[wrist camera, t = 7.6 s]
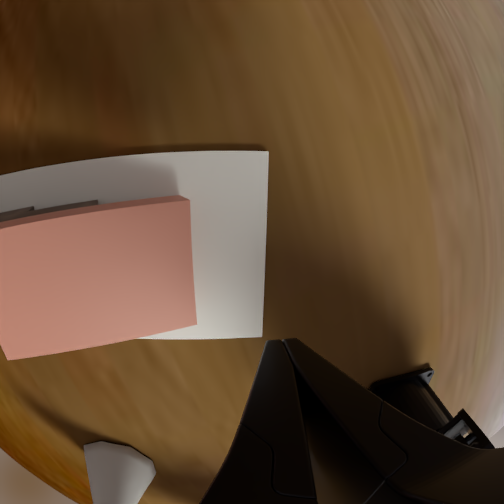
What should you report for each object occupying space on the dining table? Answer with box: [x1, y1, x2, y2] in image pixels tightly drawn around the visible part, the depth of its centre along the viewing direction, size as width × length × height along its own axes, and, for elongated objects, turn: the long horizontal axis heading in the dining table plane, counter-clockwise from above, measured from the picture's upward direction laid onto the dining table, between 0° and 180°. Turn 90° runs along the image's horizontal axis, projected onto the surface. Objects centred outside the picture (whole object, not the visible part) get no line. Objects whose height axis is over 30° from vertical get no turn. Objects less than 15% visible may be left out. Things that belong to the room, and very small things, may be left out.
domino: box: [0, 195, 197, 360], centre depth 11 cm, size 2×6×10 cm
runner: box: [0, 151, 269, 339], centre depth 14 cm, size 22×10×1 cm, turn 89°
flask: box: [84, 441, 156, 504], centre depth 16 cm, size 7×7×10 cm
